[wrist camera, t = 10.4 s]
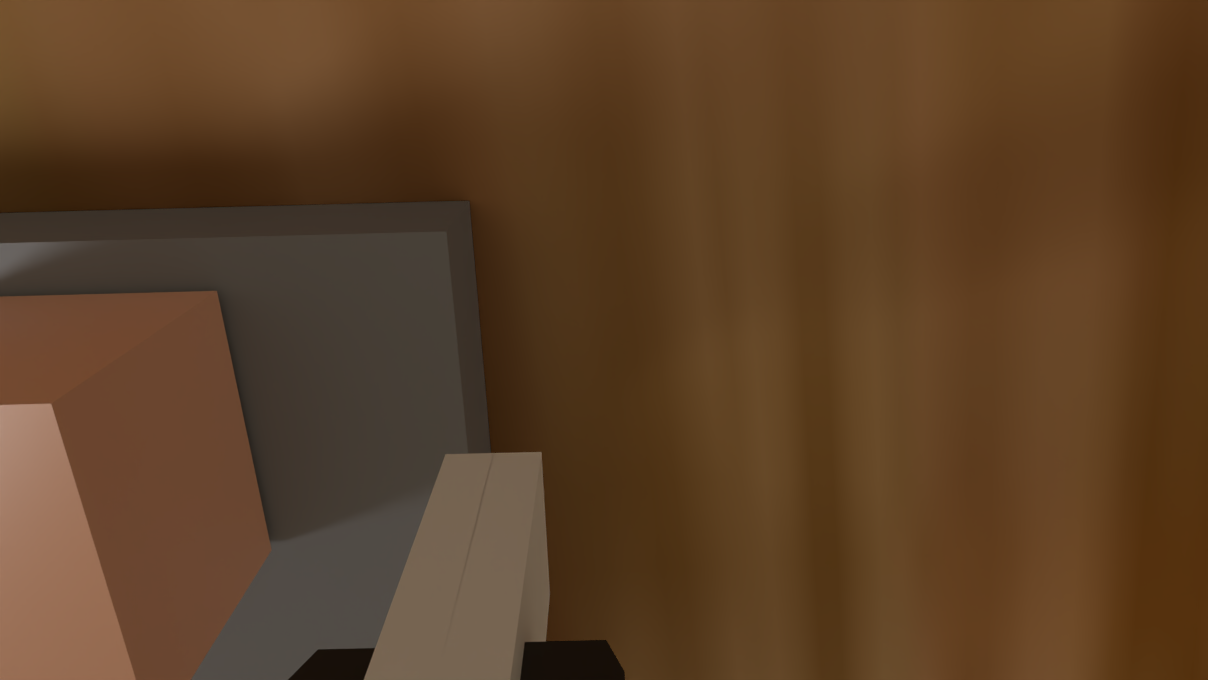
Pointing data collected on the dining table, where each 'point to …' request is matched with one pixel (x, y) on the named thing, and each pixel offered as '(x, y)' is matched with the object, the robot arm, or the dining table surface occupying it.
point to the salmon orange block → (121, 486)
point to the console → (306, 384)
